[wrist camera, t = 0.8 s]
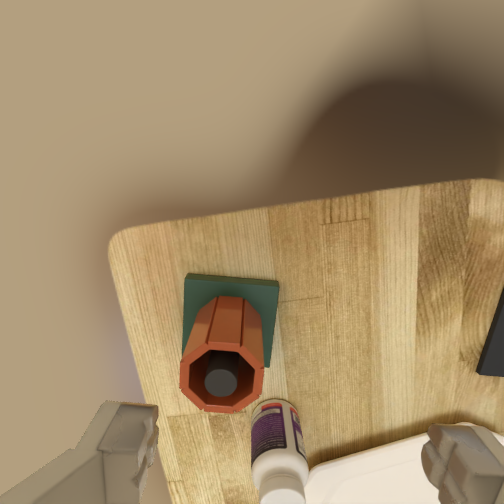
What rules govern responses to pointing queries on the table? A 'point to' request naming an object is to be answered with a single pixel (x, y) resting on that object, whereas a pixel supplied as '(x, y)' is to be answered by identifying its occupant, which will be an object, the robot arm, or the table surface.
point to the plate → (376, 476)
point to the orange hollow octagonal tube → (226, 339)
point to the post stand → (208, 287)
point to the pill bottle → (278, 454)
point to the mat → (494, 346)
